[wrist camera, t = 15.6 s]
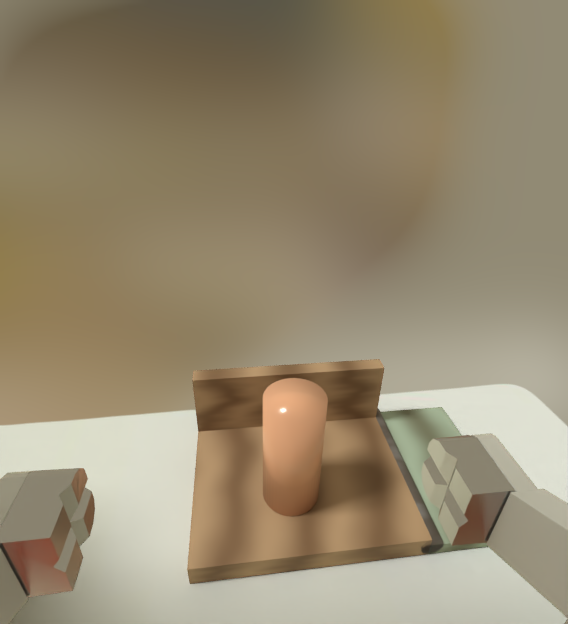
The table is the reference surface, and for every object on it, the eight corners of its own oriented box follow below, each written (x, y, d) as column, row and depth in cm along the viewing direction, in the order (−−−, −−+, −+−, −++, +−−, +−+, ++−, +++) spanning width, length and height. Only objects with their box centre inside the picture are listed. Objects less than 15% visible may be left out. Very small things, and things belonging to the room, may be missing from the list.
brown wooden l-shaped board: (189, 583, 32) (177, 512, 27) (200, 434, 46) (193, 370, 41) (524, 541, 35) (560, 472, 31) (439, 414, 49) (456, 354, 45)
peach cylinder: (265, 519, 34) (266, 423, 29) (260, 470, 39) (260, 380, 34) (324, 512, 35) (334, 418, 30) (312, 465, 40) (320, 376, 34)
